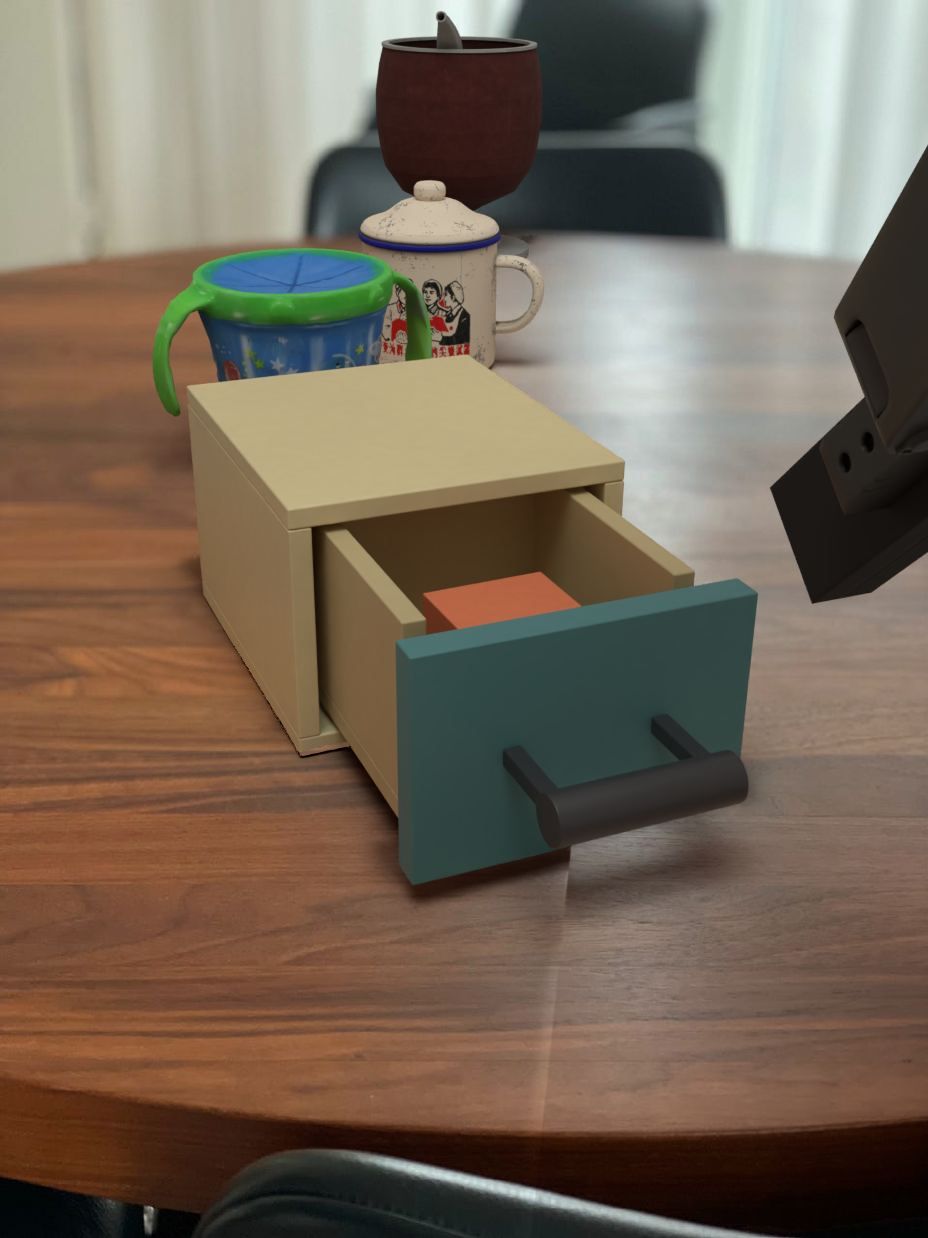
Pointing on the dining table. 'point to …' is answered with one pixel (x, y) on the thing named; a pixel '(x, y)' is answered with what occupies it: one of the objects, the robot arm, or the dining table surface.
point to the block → (493, 602)
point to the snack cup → (290, 315)
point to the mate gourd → (460, 115)
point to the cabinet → (353, 488)
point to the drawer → (530, 679)
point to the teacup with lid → (445, 273)
